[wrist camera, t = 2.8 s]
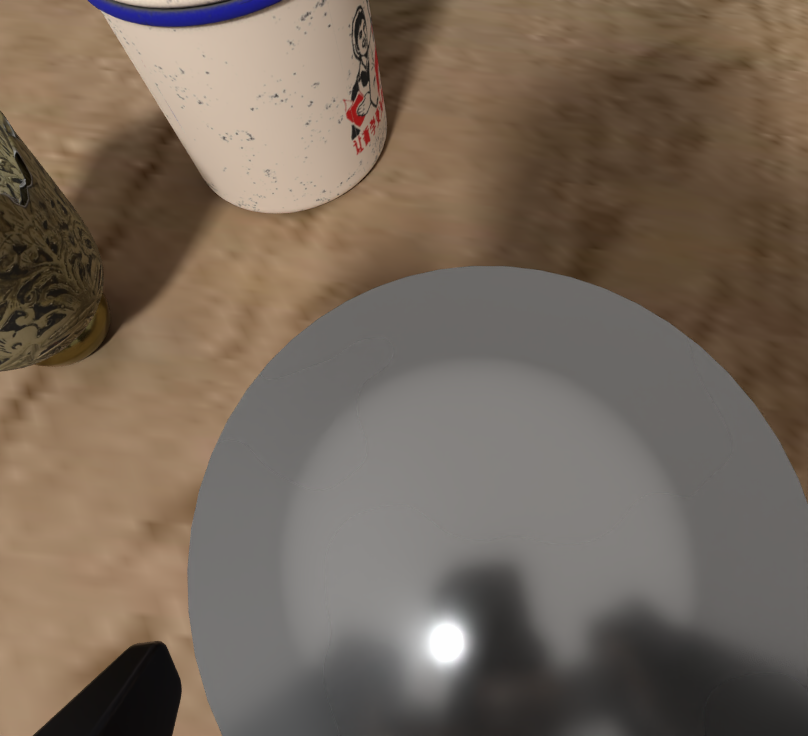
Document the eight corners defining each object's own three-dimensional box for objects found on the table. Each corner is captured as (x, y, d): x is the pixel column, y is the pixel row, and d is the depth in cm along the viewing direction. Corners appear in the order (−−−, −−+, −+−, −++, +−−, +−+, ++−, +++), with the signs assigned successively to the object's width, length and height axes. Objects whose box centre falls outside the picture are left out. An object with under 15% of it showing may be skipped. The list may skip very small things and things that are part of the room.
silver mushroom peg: (581, 577, 15) (957, 518, 4) (469, 713, 14) (531, 1197, 3) (458, 464, 16) (466, 185, 5) (350, 578, 15) (75, 529, 4)
